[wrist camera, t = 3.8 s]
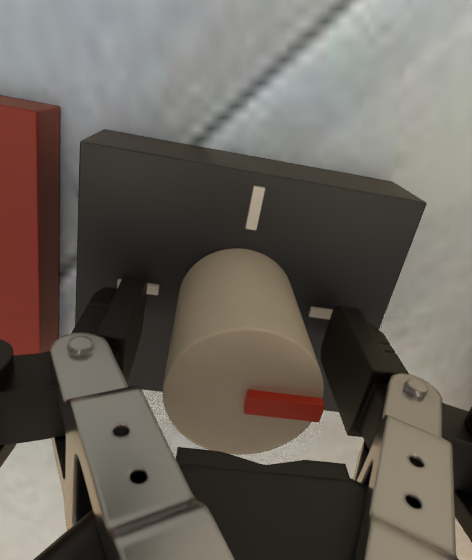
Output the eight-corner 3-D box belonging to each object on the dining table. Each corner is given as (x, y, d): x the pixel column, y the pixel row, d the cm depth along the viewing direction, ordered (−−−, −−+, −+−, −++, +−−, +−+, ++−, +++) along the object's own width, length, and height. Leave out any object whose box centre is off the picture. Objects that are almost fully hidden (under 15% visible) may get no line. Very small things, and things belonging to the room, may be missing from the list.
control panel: (93, 338, 19) (72, 384, 16) (103, 128, 15) (78, 141, 12) (329, 368, 20) (348, 416, 18) (393, 182, 17) (429, 204, 14)
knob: (172, 340, 16) (153, 456, 11) (186, 239, 14) (171, 324, 9) (278, 354, 16) (304, 471, 11) (304, 257, 14) (347, 347, 10)
